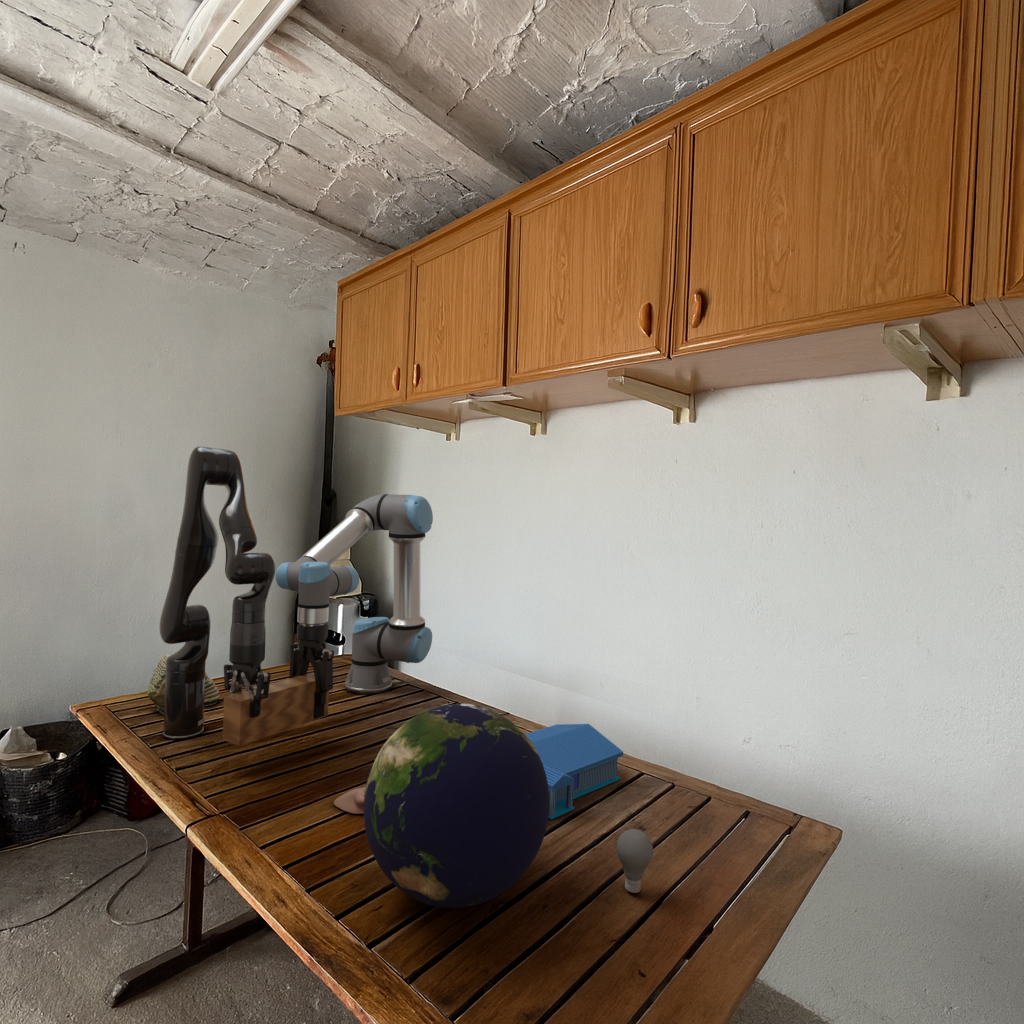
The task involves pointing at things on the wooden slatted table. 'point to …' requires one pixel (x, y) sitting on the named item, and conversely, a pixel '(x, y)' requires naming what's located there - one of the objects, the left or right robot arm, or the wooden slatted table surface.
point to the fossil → (158, 687)
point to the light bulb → (634, 857)
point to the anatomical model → (352, 801)
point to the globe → (456, 806)
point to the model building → (574, 762)
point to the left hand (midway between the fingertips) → (245, 713)
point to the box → (271, 710)
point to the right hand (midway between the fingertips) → (309, 713)
